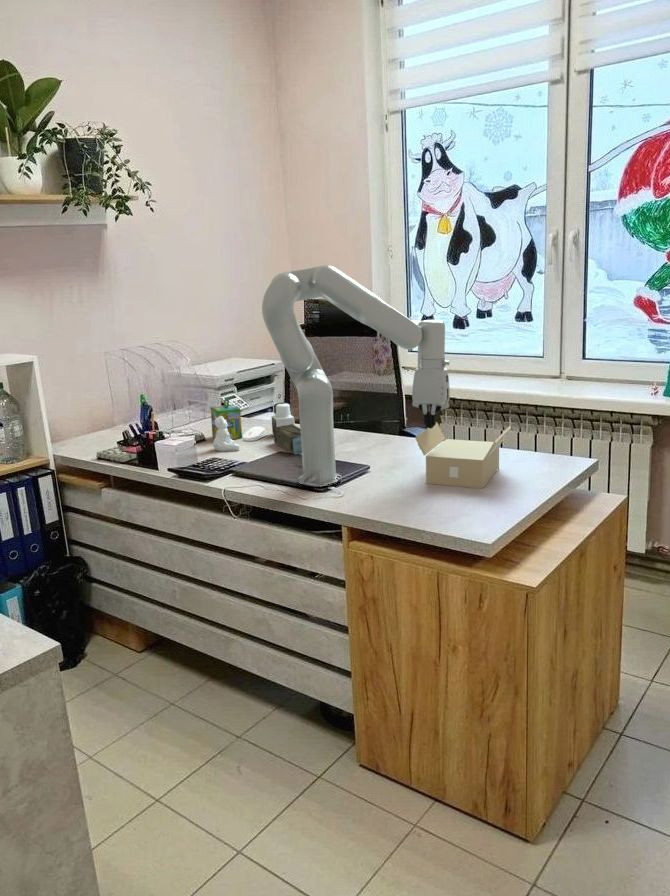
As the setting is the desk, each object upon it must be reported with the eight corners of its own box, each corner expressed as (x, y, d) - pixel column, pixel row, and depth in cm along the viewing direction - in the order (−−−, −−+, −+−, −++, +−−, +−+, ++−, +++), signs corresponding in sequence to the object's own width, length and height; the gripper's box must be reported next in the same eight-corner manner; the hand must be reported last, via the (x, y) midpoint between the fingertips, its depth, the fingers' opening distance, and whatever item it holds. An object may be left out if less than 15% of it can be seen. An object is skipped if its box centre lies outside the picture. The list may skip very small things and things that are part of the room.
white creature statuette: (241, 450, 250) (238, 416, 247) (216, 454, 247) (213, 419, 244) (234, 444, 258) (231, 412, 255) (210, 448, 255) (207, 414, 252)
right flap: (483, 458, 195) (486, 460, 195) (494, 441, 193) (496, 443, 193) (499, 442, 212) (501, 443, 212) (509, 426, 210) (511, 427, 209)
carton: (482, 488, 197) (482, 460, 195) (426, 483, 204) (425, 456, 202) (499, 468, 215) (499, 442, 213) (446, 464, 221) (446, 439, 219)
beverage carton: (292, 455, 241) (291, 436, 239) (273, 443, 258) (271, 425, 256) (314, 451, 244) (313, 432, 243) (293, 440, 261) (292, 422, 260)
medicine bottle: (272, 434, 272) (270, 402, 269) (290, 431, 274) (288, 400, 271) (276, 438, 265) (274, 406, 262) (295, 435, 267) (293, 404, 264)
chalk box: (212, 437, 272) (208, 398, 268) (235, 433, 275) (232, 395, 272) (219, 442, 264) (215, 402, 260) (243, 438, 267) (240, 399, 264)
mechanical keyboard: (128, 467, 238) (127, 457, 237) (92, 461, 249) (90, 451, 248) (209, 442, 268) (208, 433, 267) (173, 437, 279) (172, 428, 278)
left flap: (445, 438, 219) (443, 439, 219) (436, 421, 219) (434, 422, 219) (425, 454, 202) (423, 455, 203) (416, 436, 202) (414, 437, 202)
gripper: (460, 363, 205) (458, 426, 210) (410, 361, 211) (409, 422, 216) (452, 367, 198) (451, 432, 203) (401, 364, 205) (401, 428, 209)
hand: (430, 427), depth 209 cm, fingers closed
